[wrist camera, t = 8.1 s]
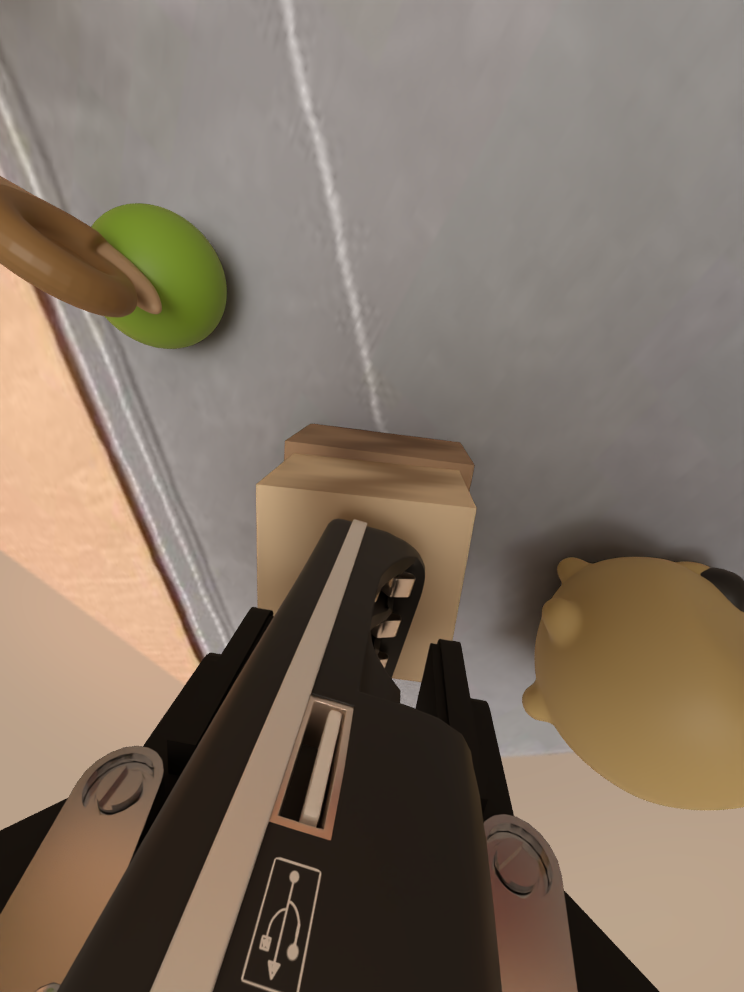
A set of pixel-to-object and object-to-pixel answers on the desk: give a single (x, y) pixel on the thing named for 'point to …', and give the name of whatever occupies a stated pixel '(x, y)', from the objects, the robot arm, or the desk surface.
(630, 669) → the toy pig
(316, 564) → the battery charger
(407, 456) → the walnut block
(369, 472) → the oak block
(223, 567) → the desk surface
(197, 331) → the snail figurine
